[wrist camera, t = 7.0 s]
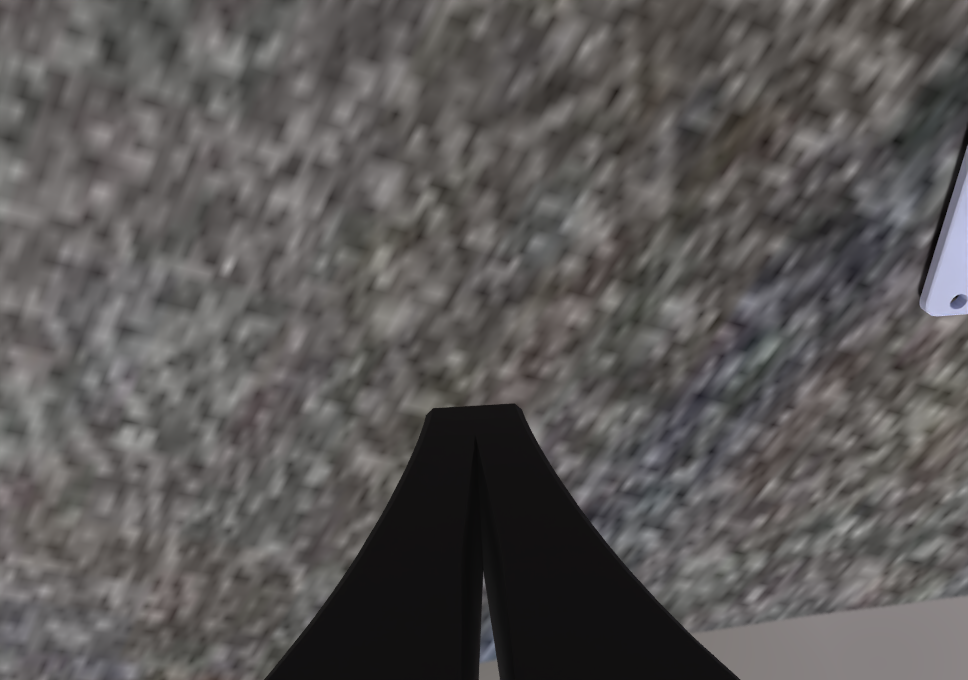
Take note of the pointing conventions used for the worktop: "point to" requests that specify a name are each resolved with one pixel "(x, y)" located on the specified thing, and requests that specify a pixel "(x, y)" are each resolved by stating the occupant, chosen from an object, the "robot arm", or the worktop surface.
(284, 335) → the worktop surface
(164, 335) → the worktop surface
